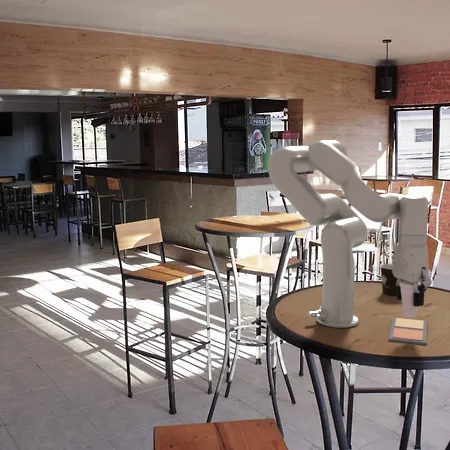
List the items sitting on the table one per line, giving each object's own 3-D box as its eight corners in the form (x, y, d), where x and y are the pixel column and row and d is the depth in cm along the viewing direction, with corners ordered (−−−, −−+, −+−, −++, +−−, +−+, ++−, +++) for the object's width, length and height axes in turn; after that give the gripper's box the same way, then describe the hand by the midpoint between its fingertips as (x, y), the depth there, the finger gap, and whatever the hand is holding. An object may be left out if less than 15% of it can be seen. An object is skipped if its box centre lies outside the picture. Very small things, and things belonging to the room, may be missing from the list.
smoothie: (396, 317, 162) (397, 268, 160) (400, 311, 168) (402, 264, 166) (419, 320, 159) (421, 270, 157) (423, 313, 165) (425, 266, 163)
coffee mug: (378, 289, 215) (379, 263, 213) (402, 290, 214) (403, 264, 212) (382, 298, 204) (383, 271, 202) (407, 299, 202) (408, 271, 201)
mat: (426, 344, 159) (426, 341, 158) (388, 340, 162) (388, 337, 162) (427, 322, 177) (427, 319, 177) (393, 319, 180) (393, 316, 180)
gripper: (382, 236, 167) (380, 296, 170) (422, 246, 151) (420, 312, 154) (403, 234, 170) (401, 293, 172) (445, 244, 154) (442, 309, 157)
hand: (410, 302), depth 163 cm, fingers closed on smoothie, 6 cm apart
